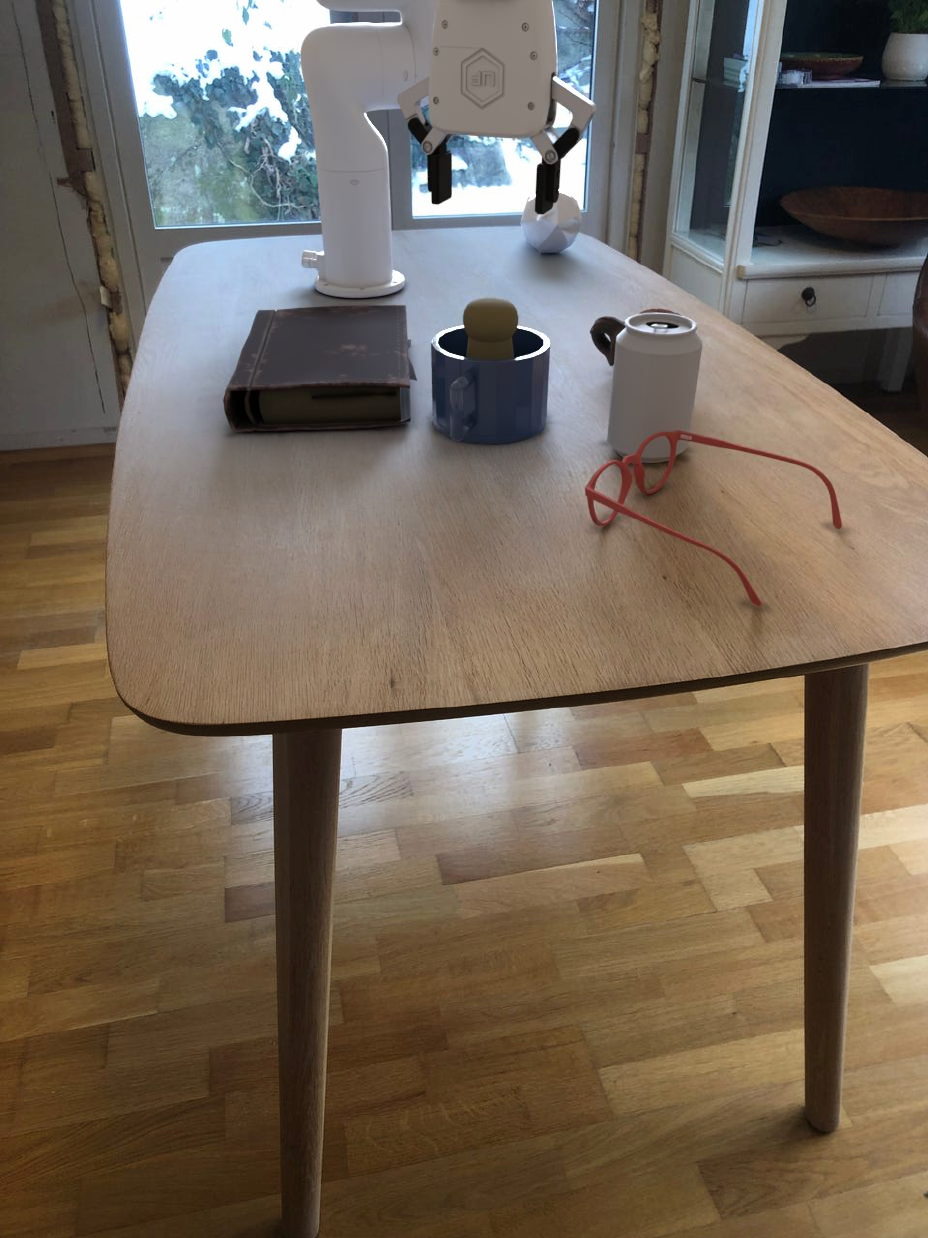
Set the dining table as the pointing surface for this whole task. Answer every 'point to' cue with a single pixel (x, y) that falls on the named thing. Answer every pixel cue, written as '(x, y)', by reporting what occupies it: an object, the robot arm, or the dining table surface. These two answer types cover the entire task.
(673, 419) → the can
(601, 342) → the pottery mug
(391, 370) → the diary
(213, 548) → the dining table surface
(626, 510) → the red eyeglasses
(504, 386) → the blue coffee cup
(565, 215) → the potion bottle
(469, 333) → the cork
